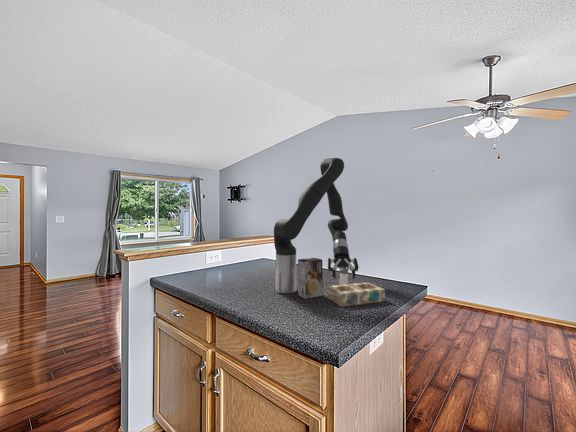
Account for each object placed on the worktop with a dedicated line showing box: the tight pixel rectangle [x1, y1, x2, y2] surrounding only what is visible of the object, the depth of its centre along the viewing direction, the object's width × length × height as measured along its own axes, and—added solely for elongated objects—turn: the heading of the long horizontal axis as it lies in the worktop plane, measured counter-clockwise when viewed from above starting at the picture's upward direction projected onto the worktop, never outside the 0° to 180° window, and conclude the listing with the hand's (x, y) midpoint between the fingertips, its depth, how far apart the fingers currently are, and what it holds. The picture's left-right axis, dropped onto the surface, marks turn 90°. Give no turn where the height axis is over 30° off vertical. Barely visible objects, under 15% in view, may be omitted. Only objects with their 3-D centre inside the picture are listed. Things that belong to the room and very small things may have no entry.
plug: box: [339, 267, 349, 285], centre depth 134 cm, size 4×4×10 cm
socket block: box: [327, 281, 386, 307], centre depth 120 cm, size 20×12×5 cm, turn 107°
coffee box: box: [297, 257, 324, 299], centre depth 126 cm, size 9×6×16 cm
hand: (344, 278), depth 133 cm, fingers open, 8 cm apart
